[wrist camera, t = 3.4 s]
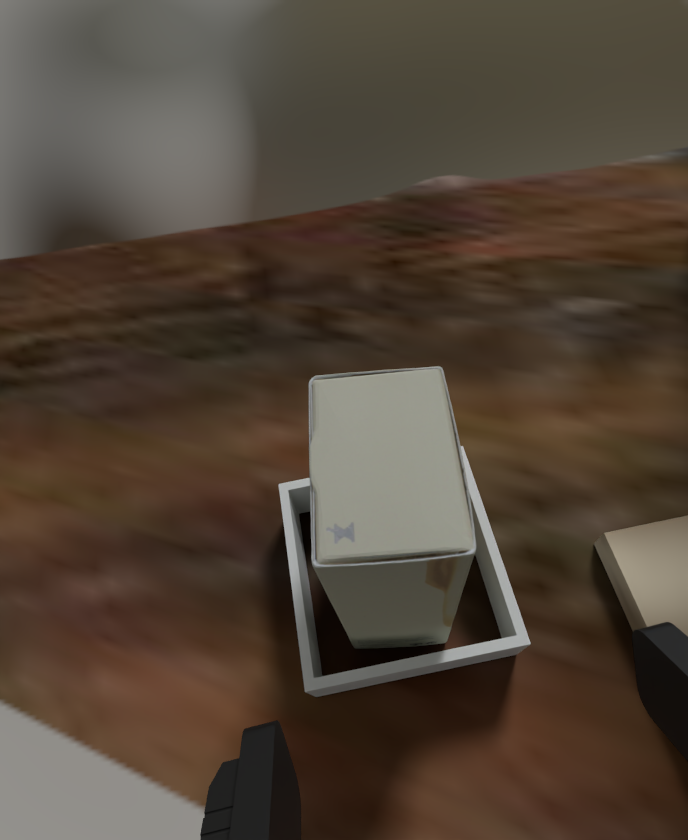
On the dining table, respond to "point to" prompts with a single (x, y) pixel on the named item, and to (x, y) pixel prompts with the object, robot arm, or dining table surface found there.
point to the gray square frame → (315, 684)
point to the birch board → (649, 571)
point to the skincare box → (389, 504)
